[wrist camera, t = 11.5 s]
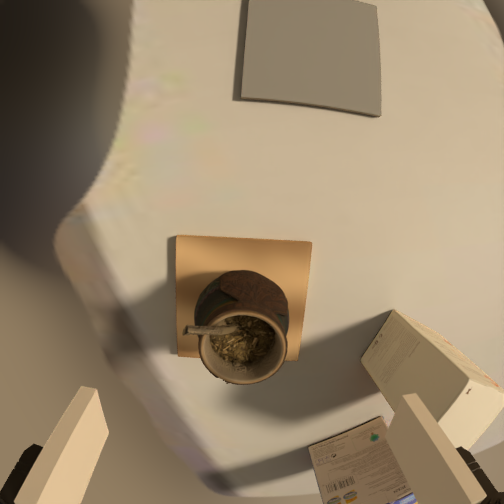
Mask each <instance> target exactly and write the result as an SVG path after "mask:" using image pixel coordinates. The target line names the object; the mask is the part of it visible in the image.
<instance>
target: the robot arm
mask: <svg viewBox="0 0 504 504" xmlns="http://www.w3.org/2000/svg"><path fill="white" fill-rule="evenodd" d="M108 434H109V431H108V428H107V425H106V421H105V418H104V414H103V411H102V407H101V403H100V400H99V396H98V392H97V389H94V388H89V387H84V386H81V387H80V389H79V390H78V392H77V393H76V395H75V396H74V398H73V400H72V401H71V403H70V404H69V406H68V408H67V409H66V411H65V413H64V414H63V416H62V417H61V419H60V421H59V422H58V424H57V426H56V427H55V429H54V431H53V432H52V434H51V436H50V437H49V439H48V441H47V442H46V444H45V446H44V447H41V446H39V445H36V444H33V445H32V446H30V447H29V448H27V449H26V450H25V451H24V452H23V454H22V455H21V457H20V459H19V462H17V464H16V466H15V469H13V470H12V472H11V474H10V475H9V477H8V479H7V481H6V482H5V484H4V486H3V488H2V490H1V491H0V504H81V501H82V498H83V496H84V493H85V491H86V488H87V486H88V483H89V480H90V478H91V475H92V473H93V470H94V468H95V465H96V463H97V460H98V458H99V455H100V453H101V451H102V448H103V446H104V443H105V441H106V439H107V436H108ZM385 438H386V440H387V442H388V444H389V446H390V448H391V450H392V452H393V454H394V456H395V458H396V460H397V462H398V464H399V466H400V468H401V470H402V472H403V474H404V476H405V478H406V480H407V482H408V484H409V486H410V488H411V490H412V492H413V494H414V496H415V498H416V500H417V502H418V504H504V492H498V491H497V490H496V489H495V488H494V486H493V485H492V483H491V482H490V480H489V479H488V477H487V476H486V474H485V473H484V472H483V470H482V469H480V466H479V464H478V463H477V462H475V459H474V457H473V456H472V455H471V453H470V452H469V451H467V450H466V449H464V448H463V447H462V446H460V447H458V448H455V447H454V446H453V444H452V443H451V441H450V440H449V438H448V437H447V436H446V434H445V433H444V431H443V430H442V429H441V427H440V426H439V424H438V423H437V422H436V420H435V419H434V417H433V416H432V415H431V413H430V412H429V410H428V409H427V408H426V406H425V405H424V404H423V402H422V401H421V399H420V398H419V397H418V395H417V394H416V393H414V394H407V395H402V397H401V400H400V402H399V405H398V407H397V410H396V412H395V414H394V417H393V419H392V422H391V424H390V426H389V428H388V431H387V433H386V435H385Z"/></svg>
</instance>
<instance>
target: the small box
mask: <svg viewBox="0 0 504 504" xmlns="http://www.w3.org/2000/svg"><path fill="white" fill-rule="evenodd" d="M360 361H361V363H362V364H363V366H364V367H365V369H366V370H367V372H368V373H369V375H370V376H371V378H372V379H373V381H374V382H375V384H376V385H377V387H378V388H379V390H380V391H381V393H382V394H383V396H384V397H385V399H386V400H387V402H388V403H389V405H390V406H391V408H392V409H393V411H394V412H396V410H397V407H398V405H399V402H400V400H401V397H402V395H407V394H414V393H416V394H417V395H418V397H419V398H420V399H421V401H422V402H423V404H424V405H425V406H426V408H427V409H428V410H429V412H430V413H431V415H432V416H433V417H434V419H435V420H436V422H437V423H438V424H439V426H440V427H441V429H442V430H443V431H444V433H445V434H446V436H447V437H448V438H449V440H450V441H451V443H452V444H453V446H454V447H455V448H458V447H460V446H462V447H463V448H464V449H466V450H468V449H469V448H470V447H471V446H472V445H473V444H474V442H475V441H476V440H477V439H478V438H479V437H480V436H481V434H482V433H483V432H484V431H485V430H486V429H487V427H488V426H489V425H490V424H491V422H492V421H493V420H494V419H495V417H496V416H497V415H498V414H499V412H500V411H501V410H502V408H503V407H504V390H503V389H502V388H501V387H500V386H499V385H498V384H497V383H495V382H494V381H493V380H492V379H491V378H490V377H489V376H488V375H486V374H485V373H484V372H483V371H482V370H481V369H480V368H479V367H477V366H476V365H475V364H474V363H473V362H472V361H471V360H469V359H468V358H467V357H466V356H465V355H464V354H462V353H461V352H460V351H459V350H458V349H457V348H455V347H454V346H453V345H452V344H451V343H450V342H448V341H447V340H446V339H445V338H444V337H443V336H441V335H440V334H439V333H437V332H435V331H433V330H432V329H430V328H428V327H426V326H425V325H423V324H421V323H419V322H417V321H415V320H414V319H412V318H410V317H408V316H406V315H404V314H402V313H400V312H398V311H396V310H393V311H392V312H391V314H390V315H389V317H388V318H387V320H386V322H385V323H384V325H383V326H382V328H381V329H380V331H379V332H378V334H377V335H376V337H375V338H374V340H373V342H372V343H371V344H370V346H369V348H368V349H367V350H366V352H365V353H364V355H363V356H362V358H361V359H360Z"/></svg>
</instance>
